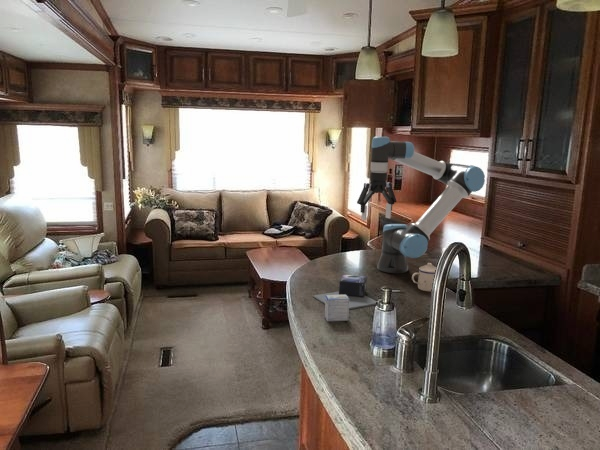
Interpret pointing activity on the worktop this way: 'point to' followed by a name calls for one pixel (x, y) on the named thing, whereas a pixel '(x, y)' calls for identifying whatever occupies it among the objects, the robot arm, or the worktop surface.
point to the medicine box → (336, 307)
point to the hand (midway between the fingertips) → (376, 219)
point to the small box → (352, 285)
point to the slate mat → (350, 300)
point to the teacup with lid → (425, 277)
